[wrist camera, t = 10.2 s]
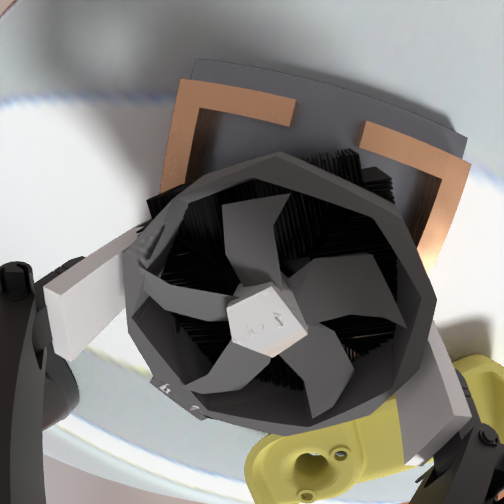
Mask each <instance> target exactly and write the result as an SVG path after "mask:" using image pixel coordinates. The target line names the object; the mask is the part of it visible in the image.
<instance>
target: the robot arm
mask: <svg viewBox="0 0 504 504" xmlns="http://www.w3.org/2000/svg"><path fill="white" fill-rule="evenodd" d="M146 221H147V220H146ZM146 221H144V222H146ZM144 222H142V223H141V224H143V223H144ZM141 224H139V225H141ZM139 225H137V226H139ZM137 226H136V227H137ZM141 228H143V227H138V228H135V227H134V228H132V229H131V230H129V231H127V232H126V233H124V234H122V235H121V236H119V237H118V238H116V239H114V240H113V241H111V242H109V243H108V244H106V245H105V246H103V247H102V248H100V249H98V250H97V251H95V252H94V253H92V254H91V255H89V256H88V257H83V256H81V257H78V258H74V259H71V260H69V261H68V262H66V263H64V264H63V265H62V266H61V267H58V268H57V269H55V270H54V272H53V271H52V272H51V273H49V274H48V275H46V276H45V277H43V278H42V279H40V280H39V281H37V282H36V283H34V280H33V272H32V268H31V266H30V265H29V264H27V263H25V262H19V261H16V262H9V263H6V264H4V265H2V266H0V504H46V497H45V487H44V473H43V448H42V431H43V430H45V429H47V428H49V427H51V426H52V425H54V424H56V423H57V422H59V421H61V420H63V419H65V418H66V417H67V416H69V414H70V413H71V412H72V411H73V409H74V408H75V407H76V406H77V404H78V402H79V391H78V387H77V384H76V382H75V379H74V377H73V375H72V373H71V371H70V369H69V368H68V366H67V364H66V363H65V361H64V359H66V360H68V361H69V362H72V361H73V360H74V359H75V358H76V357H77V356H78V355H79V354H80V353H81V352H82V351H83V350H84V349H85V348H86V346H87V345H88V344H89V343H90V342H91V341H92V340H93V339H94V338H95V337H96V336H97V335H98V334H99V333H100V332H101V331H102V330H103V329H104V328H105V327H106V326H107V325H108V324H109V323H110V322H111V321H112V320H113V319H114V318H115V317H116V316H117V315H118V314H119V313H120V312H121V311H122V310H123V309H124V308H125V307H126V304H125V292H124V278H123V259H122V255H123V254H124V252H125V251H126V250H127V249H128V248H129V247H130V245H131V244H132V243H133V242H134V241H135V240H136V239H137V237H138V236H137V235H139V234H140V233H136V231H138V230H140V229H141ZM141 233H142V232H141ZM51 341H52V342H53V344H52V343H51ZM62 357H63V358H64V359H63V358H62ZM468 389H469V387H468V385H467V382H466V380H465V378H464V377H463V375H462V374H461V373H460V371H459V370H458V369H455V368H454V367H453V364H452V362H451V359H450V357H449V354H448V352H447V350H446V347H445V345H444V343H443V340H442V338H441V336H440V334H439V331H438V329H437V327H436V325H435V323H434V321H433V320H432V324H431V328H430V332H429V336H428V340H427V343H426V347H425V351H424V354H423V358H422V361H421V364H420V368H419V370H418V371H417V372H416V373H415V374H414V375H413V376H412V377H411V378H410V379H409V380H408V381H407V382H406V383H405V384H404V385H403V386H402V387H401V388H399V389H398V390H397V391H396V392H395V397H396V403H397V409H398V416H399V423H400V430H401V438H402V446H403V454H404V464H405V465H411V466H423V465H424V464H425V463H427V462H428V461H429V460H430V459H431V458H432V457H433V459H434V465H433V466H432V467H431V468H430V469H429V470H428V471H427V472H425V473H424V474H423V475H422V476H420V477H419V478H418V479H417V480H416V481H415V482H416V483H418V482H419V481H421V480H422V479H423V481H422V482H421V484H420V486H419V487H418V489H417V491H416V492H415V494H414V496H413V497H412V499H411V501H410V502H409V504H504V497H503V498H502V499H500V500H499V501H498V494H499V493H501V492H502V491H503V490H504V444H502V443H500V439H499V436H498V434H497V433H496V431H495V430H494V429H493V428H492V427H491V426H489V425H487V424H485V423H481V420H480V417H479V414H478V411H477V409H476V406H475V403H474V400H473V398H471V397H472V395H471V393H470V390H468Z"/></svg>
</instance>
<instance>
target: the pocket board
mask: <svg viewBox="0 0 504 504" xmlns="http://www.w3.org/2000/svg"><path fill="white" fill-rule="evenodd" d="M467 139H468V138H467V137H465V136H463V135H461V134H459V133H457V132H455V131H452V130H450V129H448V128H446V127H444V126H442V125H440V124H437V123H435V122H433V121H431V120H428V119H426V118H424V117H421V116H419V115H417V114H414V113H412V112H409V111H407V110H404V109H402V108H399V107H396V106H394V105H391V104H388V103H386V102H383V101H380V100H377V99H374V98H372V97H369V96H366V95H363V94H360V93H356V92H353V91H350V90H347V89H344V88H340V87H337V86H333V85H330V84H326V83H323V82H319V81H315V80H311V79H308V78H304V77H299V76H295V75H291V74H287V73H282V72H277V71H273V70H268V69H263V68H257V67H252V66H246V65H240V64H234V63H227V62H220V61H212V60H204V59H196V60H195V64H194V68H193V72H192V76H191V80H189V79H180V84H179V88H178V93H177V97H176V102H175V107H174V112H173V117H172V122H171V127H170V132H169V138H168V143H167V149H166V155H165V161H164V167H163V173H162V180H161V187H160V194H161V193H163V192H165V191H167V190H169V189H171V188H174V187H176V186H178V185H180V184H185V183H189V182H192V181H195V180H198V179H200V178H201V177H202V176H204V175H206V174H209V173H212V172H215V171H218V170H221V169H224V168H227V167H230V166H233V165H236V164H239V163H242V162H245V161H249V160H252V159H255V158H258V157H262V156H265V155H269V154H272V153H275V152H279V151H281V152H284V153H286V154H289V155H291V156H294V157H296V158H298V159H300V158H301V157H302V158H303V156H304V159H305V161H306V158H307V157H308V161H309V159H310V156H311V155H312V154H313V158H314V161H315V155H316V159H317V163H318V167H319V168H321V164H320V159H319V154H318V153H320V154H321V159H322V153H324V156H325V161H326V166H327V170H328V172H330V170H329V165H328V160H327V156H326V152H328V156H329V161H330V165H331V170H332V173H333V174H334V168H333V163H332V157H331V153H332V154H333V156H334V157H335V161H336V155H335V151H336V153H337V150H339V152H340V153H341V149H343V150H344V149H347V150H348V148H351V149H352V150H354V151H355V152H357V153H359V157H360V163H361V169H364V168H370V167H375V166H376V167H377V168H379V169H380V170H381V171H383V172H384V173H386V174H387V175H388V176H390V177H391V178H392V180H390V181H391V182H392V183H393V185H391V186H392V187H393V190H391V191H392V192H393V193H394V194H392V195H393V196H394V197H395V199H393V200H394V201H395V204H394V205H395V206H396V209H397V210H398V212H399V214H400V215H401V217H402V218H403V220H404V222H405V224H406V226H407V228H408V231H409V233H410V235H411V237H412V239H413V242H414V244H415V246H416V248H417V251H418V253H419V255H420V258H421V260H422V262H423V265H424V267H425V270H426V272H427V275H428V277H429V275H430V273H431V271H432V268H433V266H434V264H435V262H436V259H437V257H438V255H439V253H440V250H441V248H442V245H443V243H444V241H445V238H446V236H447V233H448V231H449V228H450V226H451V223H452V220H453V218H454V215H455V212H456V210H457V207H458V204H459V201H460V198H461V195H462V192H463V189H464V186H465V183H466V180H467V177H468V174H469V171H470V167H471V164H470V163H468V162H466V161H464V160H462V157H463V154H464V150H465V147H466V143H467ZM341 155H342V154H341ZM322 164H323V159H322ZM336 166H337V162H336ZM323 168H324V164H323ZM324 170H325V169H324ZM337 171H338V168H337ZM338 176H339V175H338ZM347 177H348V176H347ZM326 204H327V201H326ZM327 207H328V205H327ZM347 353H348V347H347ZM350 354H351V359H352V349H350ZM357 355H358V353H357ZM355 356H356V355H355V351H354V357H355Z"/></svg>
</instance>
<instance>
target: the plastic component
mask: <svg viewBox="0 0 504 504" xmlns="http://www.w3.org/2000/svg"><path fill="white" fill-rule="evenodd" d="M452 364H453V367H454V368H455V369H458V370H459V371H460V373H461V374H462V375H463V377H464V378H465V380H466V382H467V385H468V387H469V389H468V390H470V393H471V395H472V397H471V398H473V400H474V403H475V406H476V409H477V411H478V414H479V417H480V420H481V423H485V424H487V425H489V426H491V427H492V428H493V429H494V430H495V431H496V433H497V434H498V436H499V439H500V443H502V444H504V367H503V366H501V365H500V364H498V363H497V362H495V361H493V360H491V359H490V358H488V357H486V356H484V355H480V354H474V355H469V356H466V357H464V358H461V359H459V360H457V361H454V362H452ZM338 451H344V452H346V453H347V454H346V455H345V456H343V457H339V456H337V455H335V454H336V452H338ZM308 453H317V454H320V455H311V454H308ZM432 461H434V459H433V457H432V458H431V459H430V460H429V461H428V462H427V463H430V462H432ZM427 463H425V464H427ZM415 467H418V466H411V465H405V464H404V454H403V446H402V438H401V430H400V423H399V416H398V409H397V403H396V397H395V393H394V394H393V395H392V396H391V397H390V398H389V399H388V400H387V401H385V402H384V403H383V404H382V405H381V406H380V407H379V408H378V409H376V410H375V411H374V412H373V413H372V414H371V415H369V416H365V417H362V418H359V419H355V420H352V421H348V422H345V423H341V424H338V425H334V426H330V427H326V428H322V429H318V430H314V431H309V432H305V433H300V434H295V435H291V436H286V437H285V436H280V435H276V434H271V433H270V434H269V435H267V436H265V437H264V438H263V439H261V440H260V441H259V442H258V443H257V444H256V445H255V446H254V447H253V448H252V449H251V451H250V453H249V454H248V456H247V459H246V462H245V467H244V474H245V479H246V483H247V486H248V488H249V491H250V493H251V495H252V497H253V500H254V502H255V504H298V503H301V502H303V503H312V502H314V501H316V500H323V499H329V498H333V497H336V496H339V495H341V494H343V493H345V492H346V491H348V490H349V489H350V488H352V486H353V485H354V484H356V483H360V482H365V481H369V480H373V479H377V478H381V477H385V476H388V475H392V474H395V473H399V472H402V471H405V470H409V469H412V468H415Z"/></svg>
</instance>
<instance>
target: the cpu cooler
mask: <svg viewBox="0 0 504 504" xmlns="http://www.w3.org/2000/svg"><path fill="white" fill-rule="evenodd" d="M318 154H319V159H320V164H321V168H319V167H318V163H317V159H316V155H315V161H314V158H313V154H312V155H311V156H310V159H309V161H308V157H307V158H306V161H305V159H304V156H303V158H302V157H301V158H300V159H298V158H296V157H294V156H291V155H289V154H286V153H284V152H281V151H279V152H275V153H272V154H269V155H265V156H262V157H258V158H255V159H252V160H249V161H245V162H242V163H239V164H236V165H233V166H230V167H227V168H224V169H221V170H218V171H215V172H212V173H209V174H206V175H204V176H202V177H201V178H200V179H198V180H195V181H192V182H189V183H185V184H180V185H178V186H176V187H174V188H171V189H169V190H167V191H165V192H163V193H161V194H158V195H156V196H154V197H152V198H150V199H148V200H146V201H147V204H148V207H149V211H150V214H151V217H152V219H150V220H148V221H146V222H144V223H143V224H141V225H139V226H137V227H135V228H138V227H143V228H141V229H140V230H138V231H136V233H140V234H139V235H137V236H138V237H137V239H136V240H135V241H134V242H133V243H132V244H131V245H130V247H129V248H128V249H127V250H126V251H125V252H124V254H123V255H122V259H123V278H124V292H125V304H126V315H127V325H128V333H129V334H130V336H131V338H132V340H133V341H134V343H135V345H136V346H137V348H138V350H139V351H140V353H141V355H142V356H143V358H144V360H145V361H146V363H147V365H148V366H149V368H150V370H151V372H152V374H153V378H152V379H151V381H150V383H151V384H152V385H154V386H155V387H156V388H157V389H159V390H160V391H161V392H163V393H164V394H165V395H166V396H168V397H169V398H170V399H172V400H173V401H174V402H176V403H177V404H178V405H180V406H181V407H182V408H184V409H185V410H187V411H188V412H189V413H191V414H192V415H194V416H195V417H196V418H198V419H199V420H201V421H202V420H204V419H207V418H210V419H216V420H220V421H224V422H227V423H231V424H234V425H238V426H242V427H246V428H250V429H254V430H258V431H262V432H267V433H271V434H276V435H280V436H285V437H286V436H291V435H295V434H300V433H305V432H309V431H314V430H318V429H322V428H326V427H330V426H334V425H338V424H341V423H345V422H348V421H352V420H355V419H359V418H362V417H365V416H369V415H371V414H372V413H373V412H374V411H375V410H376V409H378V408H379V407H380V406H381V405H382V404H383V403H384V402H385V401H387V400H388V399H389V398H390V397H391V396H392V395H393V394H394V393H395V392H396V391H397V390H398V389H399V388H401V387H402V386H403V385H404V384H405V383H406V382H407V381H408V380H409V379H410V378H411V377H412V376H413V375H414V374H415V373H416V372H417V371H418V370H419V368H420V364H421V361H422V358H423V354H424V351H425V347H426V343H427V340H428V336H429V332H430V328H431V324H432V320H433V316H434V311H435V307H436V302H437V298H436V295H435V293H434V290H433V287H432V285H431V282H430V280H429V277H428V275H427V272H426V270H425V267H424V265H423V262H422V260H421V258H420V255H419V253H418V251H417V248H416V246H415V244H414V242H413V239H412V237H411V235H410V233H409V231H408V228H407V226H406V224H405V222H404V220H403V218H402V217H401V215H400V214H399V212H398V210H397V209H396V206H395V205H394V204H395V201H394V200H393V199H395V197H394V196H393V195H392V194H394V193H393V192H392V191H391V190H393V187H392V186H391V185H393V183H392V182H391V181H390V180H392V178H391V177H390V176H388V175H387V174H386V173H384V172H383V171H381V170H380V169H379V168H377V167H376V166H375V167H370V168H364V169H361V163H360V157H359V153H357V152H355V151H354V150H352V149H351V148H348V150H347V149H344V150H343V149H341V153H340V152H339V150H337V153H336V151H335V155H336V161H335V157H334V156H333V154H332V153H331V157H332V163H333V168H334V174H333V173H332V170H331V165H330V161H329V156H328V152H326V156H327V160H328V165H329V170H330V172H328V170H327V166H326V161H325V156H324V153H322V159H323V164H324V168H323V164H322V159H321V154H320V153H318ZM341 154H342V155H341ZM336 162H337V166H336ZM337 168H338V171H337ZM324 169H325V170H324ZM338 175H339V176H338ZM347 176H348V177H347ZM326 201H327V204H326ZM327 205H328V207H327ZM141 232H142V233H141ZM347 347H348V353H347ZM350 349H352V359H351V354H350ZM354 351H355V355H356V356H355V357H354ZM357 353H358V355H357Z"/></svg>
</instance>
